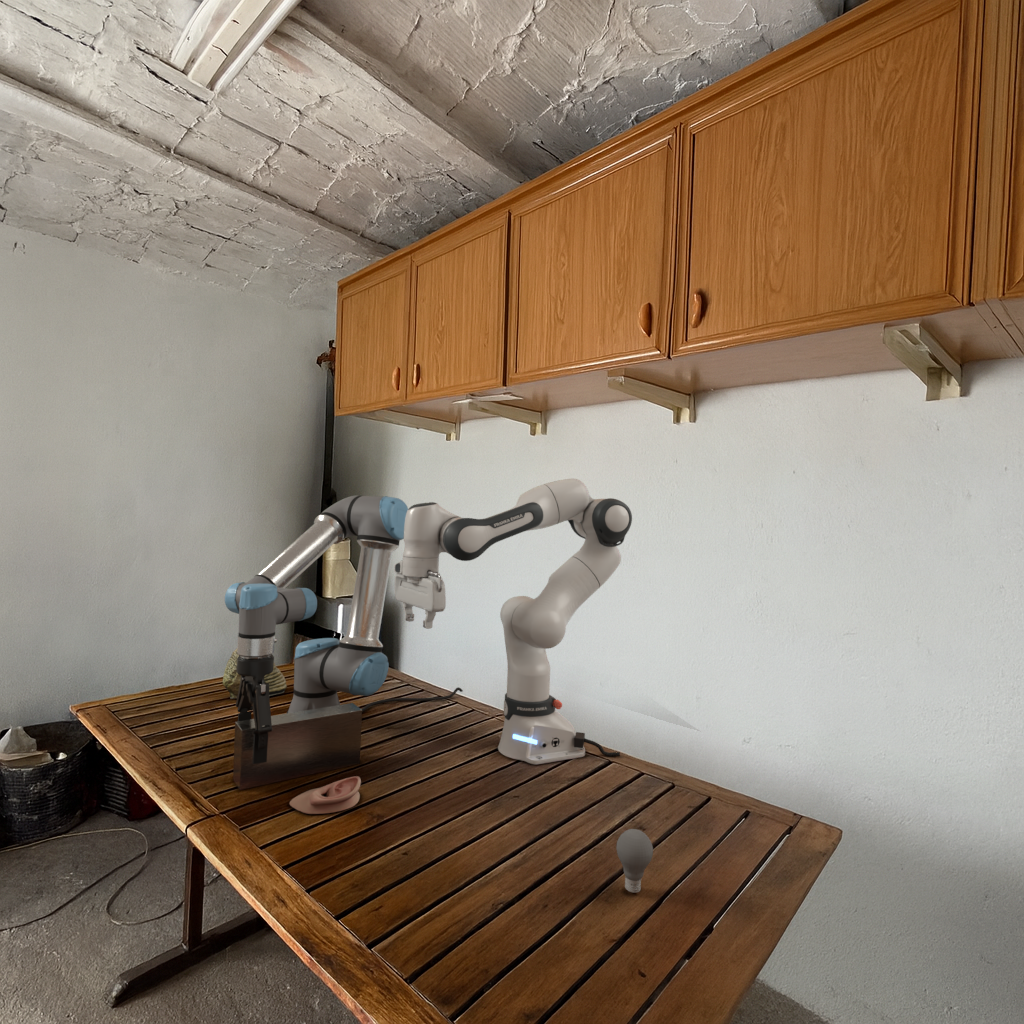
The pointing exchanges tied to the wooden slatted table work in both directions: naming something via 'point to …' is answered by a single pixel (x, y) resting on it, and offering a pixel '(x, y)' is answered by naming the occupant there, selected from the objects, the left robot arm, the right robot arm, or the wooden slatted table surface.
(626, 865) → the light bulb
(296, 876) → the wooden slatted table surface
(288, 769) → the box
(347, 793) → the anatomical model
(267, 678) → the fossil
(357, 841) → the wooden slatted table surface
